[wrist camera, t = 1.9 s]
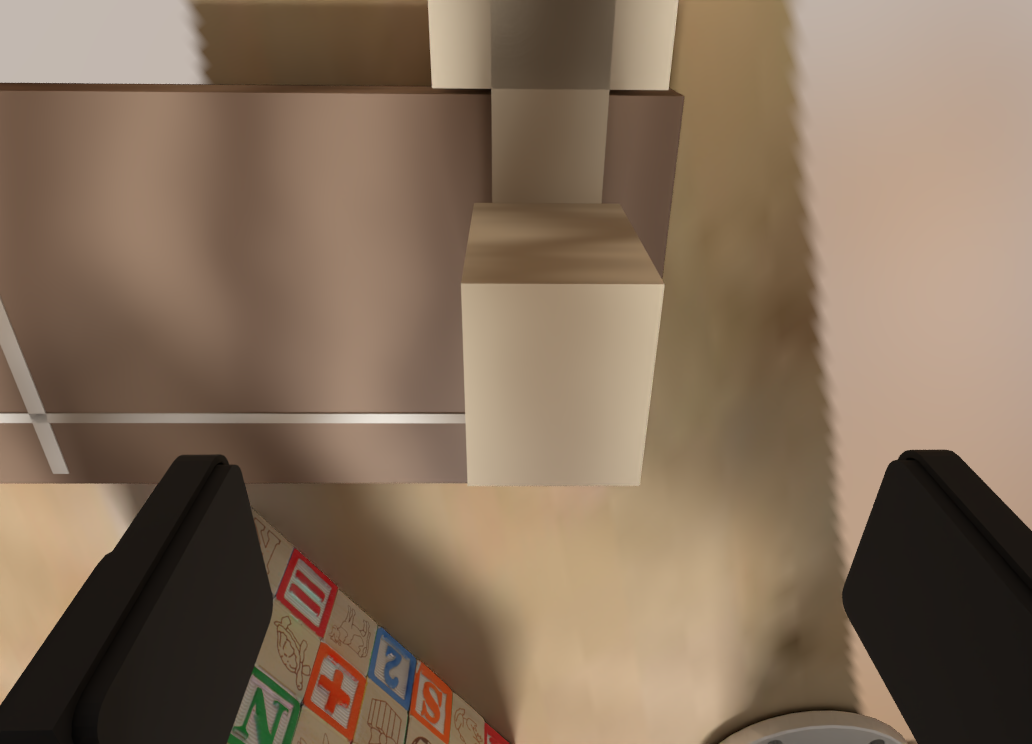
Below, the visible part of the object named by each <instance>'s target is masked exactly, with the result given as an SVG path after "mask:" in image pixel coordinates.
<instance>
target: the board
mask: <svg viewBox="0 0 1032 744" xmlns="http://www.w3.org/2000/svg"><path fill="white" fill-rule="evenodd" d="M683 105H684V96H683V95H681V94H679V93H677V92H676V91H674V90H672V89H670V88H669V90H610V91H609V105H608V119H607V133H606V147H605V161H604V175H603V189H602V203H601V204H620V205H621V207H622V209H623V211H624V212H625V214H626V216H627V218H628V220H629V221H630V223H631V225H632V227H633V228H634V230H635V232H636V234H637V236H638V237H639V239H640V241H641V243H642V245H643V246H644V248H645V250H646V252H647V253H648V255H649V257H650V259H651V261H652V262H653V264H654V266H655V268H656V270H657V271H658V273H659V275H660V277H661V278H662V277H663V268H664V260H665V252H666V244H667V236H668V227H669V219H670V211H671V203H672V195H673V186H674V178H675V170H676V162H677V154H678V145H679V137H680V129H681V121H682V113H683ZM474 203H492V105H491V89H464V88H432V86H323V85H203V84H83V83H82V84H81V83H77V84H76V83H68V84H67V83H0V483H159V482H160V480H161V479H162V478H163V476H164V475H165V473H166V472H167V470H168V469H169V467H170V466H171V464H172V463H173V461H174V460H175V459H176V458H177V457H178V456H180V455H211V454H221V455H224V456H225V457H226V458H227V460H228V462H229V465H238V466H239V467H240V469H241V472H242V475H243V479H244V483H468V482H467V452H466V421H465V391H464V361H463V330H462V300H461V280H462V274H463V268H464V262H465V256H466V249H467V243H468V237H469V231H470V225H471V219H472V212H473V206H474Z"/></svg>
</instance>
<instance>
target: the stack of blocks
mask: <svg viewBox="0 0 1032 744" xmlns="http://www.w3.org/2000/svg"><path fill="white" fill-rule="evenodd" d="M251 511H252V515H253V519H254V523H255V527H256V531H257V535H258V539H259V543H260V547H261V551H262V555H263V559H264V563H265V567H266V571H267V575H268V579H269V583H270V587H271V591H272V596H273V611H272V617H271V621H270V624H269V627H268V629H267V632H266V635H265V638H264V641H263V643H262V646H261V649H260V652H259V655H258V657H257V660H256V663H255V666H254V669H253V672H252V674H251V677H250V680H249V683H248V686H247V688H246V691H245V694H244V697H243V700H242V702H241V705H240V708H239V711H238V714H237V716H236V719H235V722H234V725H233V728H232V730H231V733H230V736H229V739H228V742H227V744H510V743H509V742H508V741H506V740H505V739H504V738H503V737H502V736H500V735H499V734H498V733H497V732H496V731H495V730H494V729H493V728H491V727H490V726H489V725H488V724H487V723H486V722H484V719H483V717H481V716H480V715H479V714H478V713H477V712H476V711H475V710H474V709H473V708H472V707H471V706H469V705H468V704H467V703H466V702H465V701H464V700H463V699H462V698H461V697H459V696H458V695H457V694H456V693H454V692H452V690H451V689H450V688H449V687H448V686H447V685H446V684H445V683H444V682H443V681H442V680H441V679H440V678H438V677H437V676H436V675H435V674H434V673H433V672H432V671H431V670H430V669H429V668H428V667H427V666H425V665H424V664H423V663H422V662H421V661H420V660H416V659H415V657H414V656H413V655H412V654H411V653H410V652H408V651H407V650H406V649H405V648H404V647H403V646H402V645H401V644H399V643H398V642H397V641H396V640H395V639H394V638H393V637H392V636H391V635H389V634H388V633H387V632H386V631H385V630H384V629H383V628H382V627H380V626H378V625H377V624H376V623H375V622H374V621H373V620H372V619H371V618H370V617H369V616H368V615H367V614H366V613H364V612H363V611H362V610H361V609H360V608H359V607H358V606H357V605H356V604H354V603H353V602H352V601H351V600H350V599H349V598H348V597H347V596H345V595H344V594H343V593H342V592H341V591H340V590H339V589H338V587H337V586H336V585H335V584H334V583H333V582H332V581H331V580H330V579H329V578H328V577H326V576H325V575H324V574H323V573H322V572H321V571H320V570H319V569H317V568H316V567H315V566H314V565H313V564H312V563H311V562H310V561H309V560H308V559H306V558H305V557H304V556H303V555H302V554H301V553H300V552H299V551H298V550H296V549H295V548H294V547H293V546H292V545H291V543H289V542H288V541H287V540H286V539H285V538H284V537H283V536H282V535H281V534H280V533H279V532H277V531H276V530H275V529H274V528H273V527H272V526H271V525H270V524H269V523H267V522H266V521H265V520H264V519H263V518H262V517H261V516H260V515H259V514H258V513H256V512H255V511H254V510H253V509H252V508H251Z"/></svg>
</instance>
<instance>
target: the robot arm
mask: <svg viewBox="0 0 1032 744" xmlns="http://www.w3.org/2000/svg"><path fill="white" fill-rule="evenodd" d="M842 599H843V605H844V609H845V612H846V614H847V616H848V618H849V620H850V621H851V623H852V625H853V627H854V629H855V631H856V632H857V634H858V636H859V638H860V640H861V641H862V643H863V645H864V647H865V649H866V650H867V652H868V654H869V656H870V658H871V660H872V661H873V663H874V665H875V667H876V669H877V670H878V672H879V674H880V676H881V678H882V679H883V681H884V683H885V685H886V687H887V688H888V690H889V692H890V694H891V696H892V697H893V699H894V701H895V703H896V705H897V707H898V709H899V710H900V712H901V714H902V716H903V718H904V719H905V721H906V723H907V725H908V726H909V728H910V730H911V732H912V734H913V736H914V738H915V739H916V741H917V743H918V744H1032V531H1031V530H1030V529H1029V528H1028V527H1027V526H1026V525H1025V524H1024V523H1023V522H1022V521H1021V520H1020V519H1019V518H1018V516H1016V514H1015V513H1014V512H1013V511H1012V510H1011V509H1010V508H1009V507H1008V506H1007V505H1006V504H1005V503H1004V502H1003V501H1002V500H1001V499H1000V498H999V497H998V496H997V495H996V494H995V493H994V492H993V491H992V490H991V489H990V488H989V487H988V486H987V485H986V484H985V483H984V482H983V480H981V478H980V477H979V476H978V475H977V474H976V473H975V472H974V471H973V470H972V469H971V468H970V467H969V466H968V465H967V464H966V463H965V462H964V461H963V460H962V459H961V458H960V457H959V456H958V455H957V454H955V453H954V452H953V451H949V450H908V451H905V452H904V453H902V454H901V455H900V457H899V459H898V460H895V461H892V462H891V463H890V464H889V465H888V467H887V470H886V472H885V475H884V478H883V480H882V483H881V486H880V489H879V491H878V494H877V497H876V500H875V502H874V505H873V508H872V511H871V513H870V516H869V519H868V522H867V524H866V527H865V530H864V532H863V535H862V538H861V541H860V544H859V546H858V549H857V552H856V554H855V557H854V560H853V563H852V565H851V568H850V571H849V574H848V576H847V579H846V582H845V585H844V587H843V592H842ZM272 611H273V596H272V591H271V587H270V583H269V579H268V575H267V571H266V567H265V563H264V559H263V555H262V551H261V547H260V543H259V539H258V535H257V531H256V527H255V523H254V519H253V515H252V511H251V507H250V503H249V499H248V495H247V491H246V487H245V483H244V479H243V475H242V472H241V469H240V467H239V466H238V465H229V462H228V460H227V458H226V457H225V456H224V455H221V454H211V455H180V456H178V457H177V458H176V459H175V460H174V461H173V463H172V464H171V466H170V467H169V469H168V470H167V472H166V473H165V475H164V476H163V478H162V479H161V480H160V482H159V483H158V485H157V486H156V488H155V489H154V491H153V492H152V494H151V495H150V497H149V498H148V500H147V501H146V503H145V504H144V506H143V507H142V508H141V510H140V511H139V513H138V514H137V516H136V517H135V519H134V520H133V522H132V523H131V525H130V526H129V528H128V529H127V531H126V532H125V534H124V535H123V536H122V538H121V539H120V541H119V542H118V544H117V545H116V547H115V548H114V550H113V551H112V552H110V553H109V554H107V555H105V557H104V558H103V559H102V560H101V561H100V562H99V563H98V564H97V566H96V567H95V569H94V570H93V572H92V573H91V575H90V576H89V577H88V579H87V580H86V582H85V583H84V585H83V586H82V588H81V589H80V590H79V592H78V593H77V595H76V596H75V598H74V599H73V601H72V602H71V604H70V605H69V606H68V608H67V609H66V611H65V612H64V614H63V615H62V617H61V618H60V620H59V621H58V622H57V624H56V625H55V627H54V628H53V630H52V631H51V633H50V634H49V635H48V637H47V638H46V640H45V641H44V643H43V644H42V646H41V647H40V649H39V650H38V651H37V653H36V654H35V656H34V657H33V659H32V660H31V662H30V663H29V665H28V666H27V667H26V669H25V670H24V672H23V673H22V675H21V676H20V678H19V679H18V680H17V682H16V683H15V685H14V686H13V688H12V689H11V691H10V692H9V694H8V695H7V696H6V698H5V699H4V701H3V702H2V704H1V705H0V744H227V742H228V739H229V736H230V733H231V730H232V728H233V725H234V722H235V719H236V716H237V714H238V711H239V708H240V705H241V702H242V700H243V697H244V694H245V691H246V688H247V686H248V683H249V680H250V677H251V674H252V672H253V669H254V666H255V663H256V660H257V657H258V655H259V652H260V649H261V646H262V643H263V641H264V638H265V635H266V632H267V629H268V627H269V624H270V621H271V617H272ZM719 744H907V742H906V741H905V739H904V738H903V736H902V735H901V734H900V733H898V732H897V731H896V730H895V729H893V728H892V727H891V726H889V725H887V724H885V723H883V722H881V721H879V720H877V719H875V718H871V717H868V716H864V715H860V714H857V713H851V712H843V711H806V712H798V713H790V714H786V715H782V716H778V717H774V718H769V719H767V720H764V721H761V722H758V723H756V724H753V725H750V726H748V727H746V728H744V729H742V730H740V731H738V732H736V733H734V734H732V735H730V736H729V737H727V738H726V739H725V740H723V741H722V742H720V743H719Z"/></svg>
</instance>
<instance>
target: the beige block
mask: <svg viewBox="0 0 1032 744" xmlns="http://www.w3.org/2000/svg"><path fill="white" fill-rule="evenodd" d="M677 9H678V0H428V15H429V36H430V57H431V78H432V88H464V89H491V105H492V203H474V206H473V212H472V219H471V225H470V231H469V237H468V243H467V249H466V256H465V262H464V268H463V274H462V280H461V300H462V330H463V361H464V391H465V421H466V452H467V482H468V486H640V480H641V471H642V463H643V455H644V447H645V439H646V431H647V423H648V415H649V407H650V399H651V391H652V383H653V375H654V367H655V359H656V351H657V343H658V335H659V327H660V319H661V311H662V303H663V295H664V287H665V284H664V282H663V280H662V278H661V277H660V275H659V273H658V271H657V270H656V268H655V266H654V264H653V262H652V261H651V259H650V257H649V255H648V253H647V252H646V250H645V248H644V246H643V245H642V243H641V241H640V239H639V237H638V236H637V234H636V232H635V230H634V228H633V227H632V225H631V223H630V221H629V220H628V218H627V216H626V214H625V212H624V211H623V209H622V207H621V205H620V204H601V203H602V189H603V175H604V161H605V147H606V133H607V119H608V105H609V91H610V90H669V81H670V72H671V63H672V54H673V45H674V36H675V27H676V18H677Z"/></svg>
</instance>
